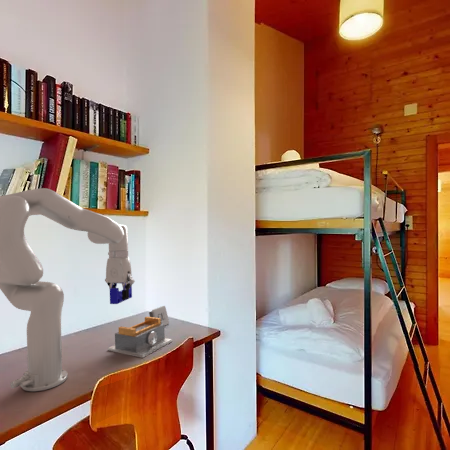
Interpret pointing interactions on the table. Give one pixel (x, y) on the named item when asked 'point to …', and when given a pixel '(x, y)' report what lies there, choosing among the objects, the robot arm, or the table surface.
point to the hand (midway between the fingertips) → (119, 298)
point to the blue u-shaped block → (118, 295)
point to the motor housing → (140, 338)
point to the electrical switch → (160, 314)
